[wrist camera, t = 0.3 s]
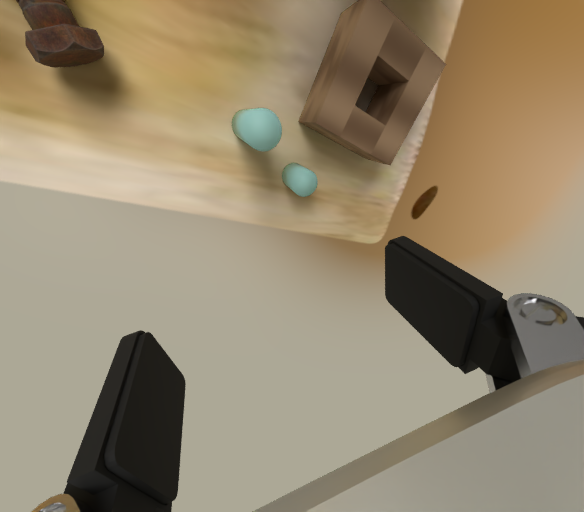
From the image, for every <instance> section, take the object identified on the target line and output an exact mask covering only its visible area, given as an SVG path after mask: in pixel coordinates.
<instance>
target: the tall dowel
mask: <svg viewBox="0 0 584 512" xmlns="http://www.w3.org/2000/svg"><path fill="white" fill-rule="evenodd" d="M232 129H233V131H234V133H235V135H236V136H237V137H238V138H240V139H241V140H243V141H244V142H245V143H247V144H248V145H250V146H251V147H253V148H254V149H256V150H258V151H269V150H271V149H273V148H274V147H275V146H276V145H277V144H278V142H279V141H280V138H281V134H282V127H281V123H280V121H279V119H278V117H277V116H276V114H275V113H273V112H272V111H271V110H269V109H265V108H257V109H246V110H240V111H238V112H237V113H236V114H235V115H234V117H233V119H232Z"/></svg>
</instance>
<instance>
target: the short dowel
mask: <svg viewBox="0 0 584 512" xmlns="http://www.w3.org/2000/svg"><path fill="white" fill-rule="evenodd" d="M282 179H283V182H284V183H285V184H286V185H287V186H288V187H289V188H290V189H291V190H292V191H294V192H295V193H296V194H297V195H299V196H302V197H306V196H309V195H311V194H312V193H313V192H314V191H315V189H316V187H317V177H316V175H315V174H314V172H312V171H310V170H309V169H307V168H305V167H303V166H301V165H299V164H297V163H291V164H289V165H287V166H286V167H285V168H284V170H283V172H282Z"/></svg>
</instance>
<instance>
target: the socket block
mask: <svg viewBox="0 0 584 512" xmlns="http://www.w3.org/2000/svg"><path fill="white" fill-rule="evenodd" d="M445 65H446V64H445V63H444V62H443V61H442V60H441V59H440V58H439V57H438V56H437V55H436V54H435V53H434V52H433V51H432V50H431V49H430V48H429V47H428V46H427V45H426V44H425V43H423V42H422V41H421V40H420V39H419V38H418V37H417V36H416V35H415V34H414V33H413V32H412V31H411V30H410V29H409V28H408V27H407V26H406V25H405V24H404V23H403V22H402V21H401V20H400V19H399V18H398V17H397V16H396V15H395V14H393V13H392V12H391V11H390V10H389V9H388V8H387V7H386V6H385V5H384V4H383V3H382V2H381V1H380V0H358V1H357V2H356V3H354V4H353V5H352V6H350V7H349V8H347V9H346V10H345V11H343V12H342V13H341V15H340V18H339V20H338V23H337V26H336V28H335V31H334V33H333V36H332V38H331V41H330V43H329V46H328V48H327V51H326V53H325V56H324V58H323V61H322V63H321V66H320V68H319V71H318V73H317V76H316V78H315V81H314V84H313V86H312V89H311V91H310V94H309V96H308V99H307V101H306V104H305V106H304V109H303V111H302V114H301V116H300V119H299V122H300V123H302V124H304V125H306V126H308V127H309V128H311V129H313V130H315V131H317V132H319V133H320V134H322V135H324V136H326V137H328V138H329V139H331V140H333V141H335V142H337V143H339V144H340V145H342V146H344V147H346V148H348V149H349V150H351V151H353V152H355V153H357V154H359V155H360V156H362V157H364V158H366V159H369V160H373V161H377V162H380V163H384V164H387V165H391V163H392V161H393V159H394V157H395V156H396V154H397V152H398V150H399V148H400V147H401V145H402V143H403V141H404V139H405V138H406V136H407V134H408V132H409V130H410V129H411V127H412V125H413V123H414V121H415V120H416V118H417V116H418V114H419V112H420V110H421V109H422V107H423V105H424V103H425V101H426V100H427V98H428V96H429V94H430V92H431V91H432V89H433V87H434V85H435V83H436V82H437V80H438V78H439V76H440V74H441V73H442V71H443V69H444V67H445ZM367 78H369V79H370V80H371V81H373V82H374V83H375V84H377V85H378V88H377V90H376V92H375V94H374V96H373V98H372V100H371V102H370V104H369V106H368V109H367V111H366V113H365V112H364V111H362V110H361V109H359V108H358V107H356V106H355V104H356V101H357V99H358V97H359V95H360V93H361V91H362V88H363V86H364V84H365V82H366V80H367Z"/></svg>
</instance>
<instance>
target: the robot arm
mask: <svg viewBox="0 0 584 512" xmlns="http://www.w3.org/2000/svg"><path fill="white" fill-rule="evenodd" d="M385 295H386V299H387V300H388V302H389V303H390V304H391V305H392V306H393V307H394V308H395V309H396V310H397V311H398V312H399V313H400V314H401V315H402V316H403V317H404V318H405V319H406V320H407V321H408V322H409V323H410V324H411V325H412V326H413V327H414V328H415V329H416V330H417V331H418V332H419V333H420V334H421V335H422V336H423V337H424V338H425V339H426V340H427V341H428V342H429V343H430V344H431V345H432V346H433V347H434V348H435V349H436V350H437V351H438V352H439V353H440V354H441V355H442V356H443V357H444V358H445V359H446V360H447V361H448V362H449V363H450V364H451V365H452V366H454V367H459V368H460V369H461V370H462V371H463V372H464V373H465V374H466V373H468V372H470V371H473V370H475V369H477V368H478V367H480V368H481V369H482V370H483V371H484V372H485V373H486V378H487V382H488V387H489V391H490V393H489V394H487V395H485V396H483V397H481V398H479V399H477V400H475V401H473V402H471V403H469V404H467V405H465V406H463V407H461V408H459V409H457V410H455V411H453V412H451V413H449V414H446V415H444V416H443V417H440V418H438V419H437V420H434V421H432V422H430V423H428V424H426V425H424V426H422V427H420V428H418V429H417V430H414V431H412V432H410V433H408V434H406V435H404V436H402V437H400V438H398V439H396V440H394V441H392V442H390V443H388V444H386V445H384V446H382V447H380V448H378V449H376V450H374V451H372V452H370V453H368V454H366V455H364V456H362V457H360V458H358V459H356V460H354V461H352V462H350V463H348V464H346V465H344V466H342V467H340V468H338V469H336V470H334V471H332V472H330V473H328V474H326V475H324V476H322V477H320V478H318V479H316V480H314V481H312V482H310V483H308V484H306V485H304V486H302V487H300V488H298V489H296V490H294V491H292V492H290V493H288V494H287V495H285V496H282V497H281V498H279V499H277V500H275V501H273V502H271V503H269V504H267V505H265V506H263V507H261V508H259V509H257V510H255V511H253V512H584V318H583V317H577V316H575V315H574V314H573V313H572V311H571V310H570V309H569V308H567V307H566V306H564V305H563V304H562V303H560V302H558V301H556V300H553V299H552V298H549V297H545V296H542V295H537V294H530V293H529V294H528V293H521V294H517V295H513V296H512V297H510V298H509V299H508V301H506V300H505V299H503V298H502V295H503V293H501V292H499V291H498V290H496V289H494V288H492V287H491V286H489V285H487V284H486V283H484V282H482V281H481V280H479V279H477V278H475V277H474V276H472V275H470V274H469V273H467V272H465V271H464V270H462V269H460V268H458V267H457V266H455V265H453V264H452V263H450V262H448V261H446V260H445V259H443V258H441V257H440V256H438V255H436V254H435V253H433V252H431V251H429V250H428V249H426V248H424V247H423V246H421V245H419V244H417V243H416V242H414V241H412V240H411V239H409V238H407V237H405V236H401V237H398V238H395V239H392V240H390V241H389V242H388V245H387V246H386V247H385ZM184 398H185V379H184V376H183V375H182V373H181V372H180V371H179V369H178V368H177V367H176V365H175V364H174V363H173V361H172V360H171V359H170V358H169V356H168V355H167V354H166V352H165V351H164V350H163V348H162V347H161V346H160V345H159V343H158V342H157V341H156V339H155V338H154V337H153V335H152V334H151V333H149V332H147V333H145V332H144V331H138V332H135V333H132V334H129V335H127V336H124V337H123V338H122V339H121V341H120V343H119V346H118V348H117V351H116V354H115V356H114V359H113V362H112V364H111V367H110V369H109V372H108V375H107V377H106V380H105V383H104V385H103V388H102V391H101V393H100V396H99V398H98V401H97V404H96V406H95V409H94V412H93V414H92V417H91V419H90V422H89V425H88V427H87V430H86V433H85V435H84V438H83V440H82V443H81V446H80V449H79V451H78V454H77V456H76V459H75V461H74V464H73V467H72V469H71V472H70V475H69V477H68V480H67V482H68V483H67V486H66V488H65V491H64V494H58V495H56V496H53V497H50V498H49V499H47V500H46V501H44V502H43V503H41V504H39V505H38V506H37V507H36V508H35V509H34V510H33V511H32V512H171V507H172V501H173V500H175V498H176V496H177V492H178V481H179V467H180V452H181V438H182V425H183V411H184Z"/></svg>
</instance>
